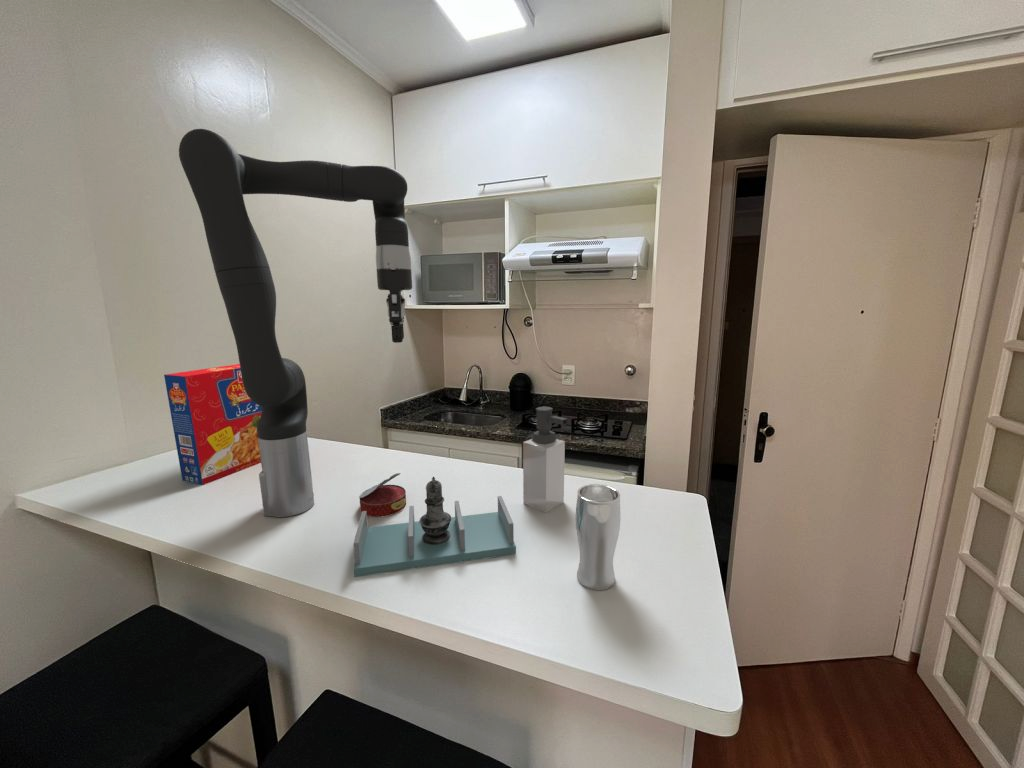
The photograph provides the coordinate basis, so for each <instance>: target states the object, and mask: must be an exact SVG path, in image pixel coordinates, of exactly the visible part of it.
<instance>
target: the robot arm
mask: <svg viewBox="0 0 1024 768" xmlns="http://www.w3.org/2000/svg"><path fill="white" fill-rule="evenodd" d="M178 157H179V161H180V164H181V166H182V169H183V172H184V174H185V177H186V179H187V181H188V184H189V185H190V187H191V191H192V194H193V196H194V198H195V201H196V204H197V206H198V208H199V212H200V215H201V218H202V223H203V226H204V231H205V236H206V241H207V246H208V250H209V254H210V257H211V262H212V266H213V270H214V273H215V277H216V281H217V284H218V286H219V287H218V288H219V291H220V294H221V297H222V299H223V303H224V305H225V309H226V313H227V316H228V320H229V323H230V326H231V331H232V333H233V336H234V340H235V345H236V350H237V355H238V361H239V363H238V364H240V369H241V375H242V381H243V385H244V389H245V391H246V393H247V395H248V396H249V398H250V399H251V400H252V401H253V402H254V403H256V404H258V405H260V406H262V414H261V417H260V419H259V422H258V424H257V435H258V443H259V450H260V457H261V463H260V464H261V472H259V474H258V480H259V485H260V486H259V487H260V494H261V501H262V509H263V515H264V516H265V517H267V516H271V517H274V518H287V517H293V516H297V515H299V514H302V513H305V512H307V511H308V510H310V509H311V508H312V507H313V506H314V505H315V499H314V498H315V496H314V495H315V494H314V488H313V479H312V478H313V477H312V469H311V458H310V451H309V450H310V449H309V441H308V432H307V420H308V413H309V410H308V395H307V394H308V393H307V385H306V378H305V374H304V372H303V370H302V368H301V366H300V365H299V364H297V362H295V361H293V360H292V359H289V358H286V357H285V358H284V357H282V355H281V352H280V347H279V344H278V342H277V335H276V315H277V293H276V287H275V283H274V280H273V278H274V277H273V276H272V275H273V274H272V271H271V268H270V265H269V261H268V259H267V256H266V253H265V251H264V248H263V246H262V244H261V241H260V239H259V236H258V235H257V232H256V230H255V229H254V226H253V223H252V222H251V220H250V219H251V218H250V217H249V214H248V212H247V207H246V204H245V198H244V195H259V194H260V195H284V196H286V195H287V196H295V197H296V196H298V197H306V198H314V199H323V200H328V201H329V200H331V201H338V202H344V203H353V202H357V201H360V200H361V201H362V200H363V201H364V200H365V201H372V206H373V215H374V222H375V223H374V225H375V227H374V230H375V231H374V234H375V246H376V247H375V265H376V267H375V269H376V280H377V281H376V282H377V289H378V290H379V291H389V294H387V297H386V300H385V301H386V302H385V303H386V307H387V316H388V317H389V318H388V322H389V324H390V329H391V340H392V343H395V344H397V343H398V344H399V343H403V340H404V337H405V331H404V322H405V316H406V310H405V308H406V298H404V296H403V294H402V291H411V290H412V289H413V279H412V278H413V277H412V276H413V275H412V260H411V259H412V258H411V253H410V243H409V241H410V240H409V229H408V224H407V223H406V216H405V213H406V212H405V198H406V196H407V194H408V183H407V180H406V178H405V177H404V175H403V174H402V173H401V172H400V171H398V170H397V169H395V168H392V167H389V166H383V165H347V164H343V163H337V162H331V161H322V160H291V161H290V160H289V161H274V160H273V161H271V160H265V159H264V160H263V159H258V158H255V157H250V156H247V155H243V154H242V153H241V154H240V153H238V152H237V150H236V149H235V147H234V146H233V145H232V144H231V143H230V142H229V141H227V139H225V138H224V137H223V136H221V134H218V133H216V132H214V131H212V130H209V129H205V128H195V129H192V130H189V131H188V132H186V133H185V134H184V135H183V136H182V138H181V140H180V142H179V146H178Z"/></svg>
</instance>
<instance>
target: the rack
mask: <svg viewBox="0 0 1024 768" xmlns="http://www.w3.org/2000/svg"><path fill="white" fill-rule="evenodd" d="M459 501H460V500H454V516H453V517H452V516H451V521H450V524H449V527H448V529H447V531H449V532H450V538H449V540H447V541H446V542H444V543H441V544H437V545H431V544H426V543H425V542H423V540H422V535H423V534H424V533H425V532H424V531H423V529H422V526H421V524H420V523H419V520H418V521H415V506H414V505H409V506H408V507H409V509H408V522H403V523H394V524H393V523H392V524H385V525H378V526H377V525H376V526H368V516H367V511H362V512H361V514H360V517H359V522H358V525H357V528H356V529H357V530H356V533H355V537H354V540H353V554H354V564H353V569H352V570H353V577H354V578H355V577H356V578H357V577H362V576H363V577H364V576H371V575H377V574H384V573H392V572H399V571H405V570H413V569H418V568H419V569H420V568H425V567H426V568H427V567H433V566H440V565H448V564H455V563H461V562H467V561H475V560H482V559H489V558H496V557H504V556H510V555H516V554H517V546H516V543H515V541H514V534H515V533H514V522H513V519H512V517H511V515H510V513H509V510H508V507H507V505H506V503H505V501H504V498H503V496H502V495H498V496H497V511H495V512H486V513H485V512H484V513H478V514H477V513H475V514H470V515H462V511H461V506H460V502H459Z"/></svg>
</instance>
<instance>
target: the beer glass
mask: <svg viewBox="0 0 1024 768" xmlns="http://www.w3.org/2000/svg"><path fill="white" fill-rule="evenodd" d="M621 515H622V514H621V494H620V492H619V491H618V490H617V489H616V488H614V487H613V486H612V487H611V486H608V485H605V484H600V483H599V484H598V483H597V484H596V483H591V484H586V485H582V486H581V487H579V488H578V489H577V497H576V507H575V528H576V529H575V530H576V535H577V536H576V537H577V542H578V547H579V562H578V568H577V572H576V578H577V581H578V582H579V583H580V584H581V586H583V587H584V588H587V589H590V590H594V591H605V590H608V589H610V588H612V587H613V586H614V585H615V581H616V578H615V571H614V557H615V552H616V547H617V543H618V539H619V534H620V530H621V520H622V519H621Z"/></svg>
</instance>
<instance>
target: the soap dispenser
mask: <svg viewBox="0 0 1024 768" xmlns="http://www.w3.org/2000/svg"><path fill="white" fill-rule="evenodd" d="M553 410H554V409H553V407H550V406H545V405H544V406H538V407H536V408H535V411H536V429H537V430H536V431H534V432H533V433H532V438H531V439H528V440H525V441H523V443H522V447H523V448H522V449H523V450H522V451H523V453H522V458H523V459H522V464H523V465H522V466H523V467H522V471H523V472H522V473H523V474H522V475H523V477H522V481H523V483H522V484H523V485H522V487H523V488H522V489H523V492H522V493H523V494H522V495H523V496H522V497H523V504H524V505H527V506H529V507H532V508H533V509H536V510H539V511H540V512H543V513H545V514H546V513H548V512H549V511H551V510H553V509H555V508H557V507H558V506H560V505H562V504H563V503H564V502H565V453H566V452H565V451H566V449H565V448H566V447H565V446H566V441H565V440H561V439H558V438H557V436H556V432H555V431H553V430H551V429H552V428H553V427H552V426H553V425H552V424H557V425H560V426H564V425H565V426H566V425H567V424H568V418H566V417H562V416H556V415H552V413H553Z"/></svg>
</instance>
